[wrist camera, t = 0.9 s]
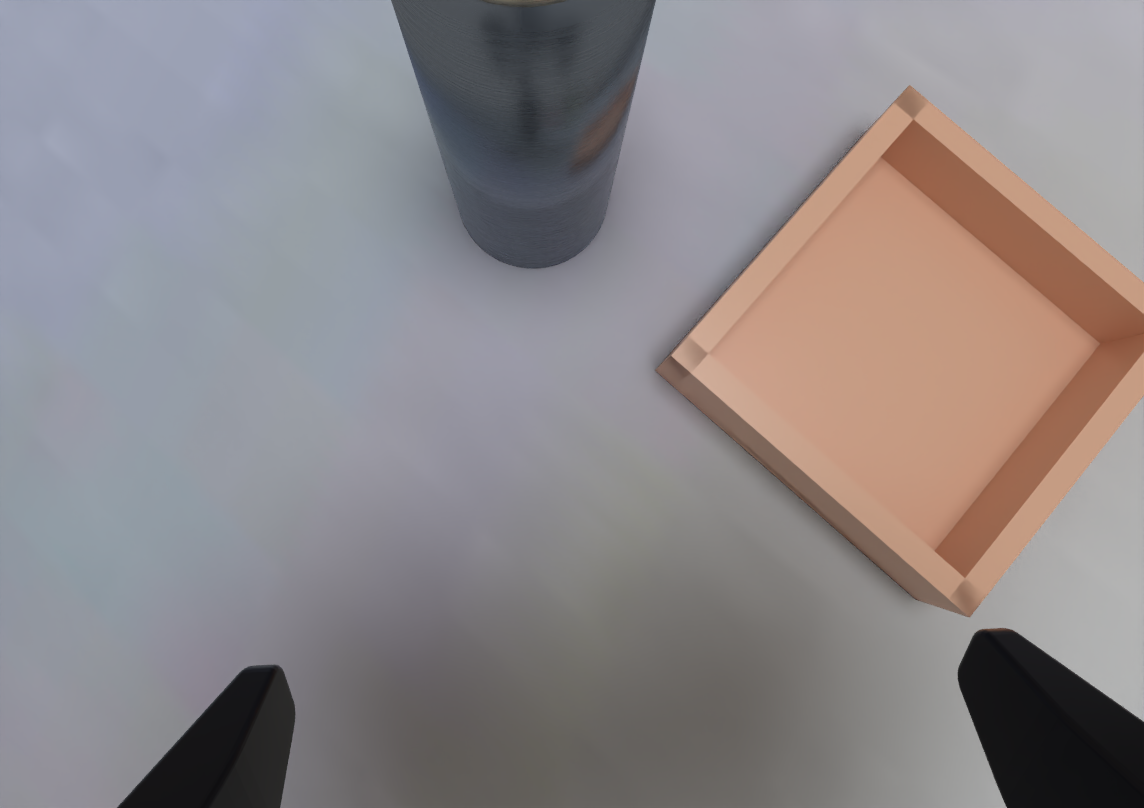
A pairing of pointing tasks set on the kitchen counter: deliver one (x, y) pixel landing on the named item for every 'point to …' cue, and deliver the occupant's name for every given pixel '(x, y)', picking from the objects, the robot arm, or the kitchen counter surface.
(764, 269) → the terracotta bin
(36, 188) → the kitchen counter surface
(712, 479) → the kitchen counter surface
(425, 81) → the dark grey cylinder
